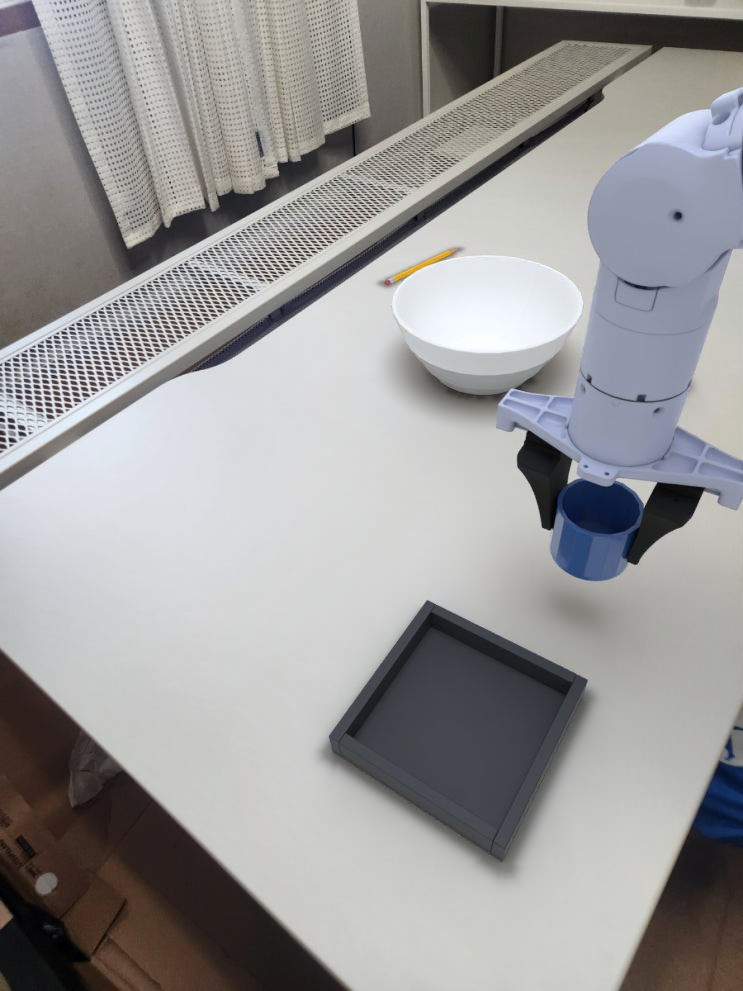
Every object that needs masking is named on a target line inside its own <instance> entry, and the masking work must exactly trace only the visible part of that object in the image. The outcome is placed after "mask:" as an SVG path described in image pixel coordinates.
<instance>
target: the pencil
mask: <svg viewBox="0 0 743 991" xmlns="http://www.w3.org/2000/svg"><path fill="white" fill-rule="evenodd" d="M457 251H458V248H454V249H448V250H446V251H443V252H442V253H440V254H437V255H435V256H433V257H431V258H429V259H426V260H425V261H423V262H420V263H418V264H417V265H415V266H412V267H411V268H410V267H409V269H406V270H404V271H403V272H400V273H398V274H395V275H394V276H391V277H389V278H388V279H385V280H384V281H383V283H384V285H386V286H390V285H391V284H394V283H395V282H398V281H400V280H401V279H404V278H407V277H409V276H410V275H411V274H413V273H414V272H416V271H418V270H420V269H422V268H424V267H426V266H428V265H431V264H434V263H437V262H440V261H442V260H443V259H444V258H446V257H448V256H451V255H452V254H454V253H456V252H457Z"/></svg>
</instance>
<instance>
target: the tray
mask: <svg viewBox="0 0 743 991" xmlns="http://www.w3.org/2000/svg"><path fill="white" fill-rule="evenodd" d="M588 681H589V680H588V679H587V678H586V677H584V676H582V675H579V674H577V673H576V672H574V671H572V670H570V669H568V668H566V667H563V666H561V665H560V664H558V663H555V662H553V661H552V660H550V659H548V658H545V657H544V656H542V655H540V654H538V653H536V652H534V651H531V650H529V649H528V648H525V647H523V646H521V645H519V644H518V643H515V642H513V641H511V640H509V639H507V638H505V637H503V636H501V635H499V634H498V633H495V632H493V631H491V630H490V629H488V628H485V627H483V626H481V625H479V624H478V623H475V622H473V621H471V620H469V619H467V618H465V617H464V616H461V615H459V614H457V613H455V612H453V611H450V610H449V609H447V608H445V607H443V606H441V605H438V604H436V603H434V602H433V601H432V600H431V601H430V600H428V599H427V600H425V602H424V604H422V606H421V608H420V609H419V610H418V612H417V613H416V614H415V616H414V617H413V618H412V620H411V621H410V623H409V624H408V625H407V626H406V628H405V630H404V631H403V632H402V634H401V635H400V636H399V638H398V639H397V641H396V642H395V644H394V645H393V647H391V649H390V650H389V651H388V654H386V656H385V657H384V659H383V660H382V661H381V663H380V664H379V666H378V667H377V668H376V670H375V671H374V672H373V674H372V675H371V677H370V678H369V680H368V681H367V682H366V684H365V685H364V686H363V688H362V690H360V692H359V693H358V695H357V696H356V698H355V699H354V700H353V701H352V703H351V704H350V706H349V707H348V709H347V710H346V711H345V713H344V714H343V715H342V717H341V718H340V720H339V721H338V723H337V724H336V725H335V726H334V728H333V729H332V730H331V732H330V733H329V735H328V739H329V743H330V748H331V751H332V753H334V754H335V755H337V756H338V757H340V758H342V759H343V760H344V761H346V762H348V763H349V764H351V765H352V766H354V767H355V768H357V769H358V770H359V771H362V773H364V774H366V775H367V776H369V777H371V778H372V779H373V780H375V781H377V782H378V783H380V784H381V785H383V786H385V787H386V788H387V789H388V790H391V791H392V792H393V793H395V794H397V795H398V796H400V797H401V798H403V799H404V800H406V801H407V802H409V803H410V804H411V805H414V806H415V807H416V808H418V809H419V810H421V811H422V812H424V813H426V814H427V815H429V816H430V817H432V818H433V819H435V820H436V821H438V822H439V823H441V824H443V825H444V826H446V827H447V828H449V829H450V830H452V831H453V832H455V833H456V834H458V835H460V836H461V837H462V838H464V839H466V840H467V841H469V842H470V843H471V844H473V845H474V846H476V847H478V848H479V849H481V850H482V851H484V852H486V853H487V854H488V855H490V856H491V857H493V858H494V859H496V860H498V861H499V862H501V863H503V862H504V860H505V858H506V855H507V853H508V851H509V850H510V847H511V845H512V843H513V841H514V839H515V837H516V835H517V833H518V831H519V828H520V827H521V824H522V822H523V821H524V819H525V816H526V814H527V812H528V810H529V808H530V806H531V804H532V802H533V800H534V798H535V795H536V794H537V792H538V789H539V787H540V786H541V783H542V781H543V779H544V777H545V775H546V773H547V771H548V769H549V767H550V765H551V762H552V761H553V759H554V757H555V754H556V752H557V751H558V748H559V746H560V744H561V742H562V740H563V738H564V736H565V734H566V732H567V730H568V728H569V726H570V724H571V722H572V720H573V718H574V716H575V713H576V711H577V709H578V707H579V705H580V703H581V701H582V700H583V697H584V694H585V691H586V688H587V684H588Z"/></svg>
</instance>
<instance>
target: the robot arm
mask: <svg viewBox="0 0 743 991" xmlns="http://www.w3.org/2000/svg"><path fill="white" fill-rule="evenodd" d="M587 207H588V208H587V217H586V218H587V219H586V221H587V222H586V224H587V231H588V236H589V239H590V244H591V246H592V247H593V250H594V252H595V254H596V255H597V257H598V259H599V264H598V267H597V268H598V269H597V273H596V278H595V283H594V286H593V291H592V295H591V296H592V297H591V303H590V309H589V312H588V313H589V314H588V319H587V324H586V330H585V335H584V341H583V346H582V350H581V357H580V361H579V368H578V373H577V379H576V383H575V388H574V395H573V396H567V395H555V394H544V393H534V392H529V391H523V390H521V389H520V390H519V389H517V388H515V389H513V388H511V389H510V390H509V391H507V392H506V394H505V395H504V396H503V398H502V399H500V402H499V403H498V404H497V410H496V422H495V428H496V430H500V431H504V432H506V433H512V432H514V430H515V429H519V430H522V431H525V432H526V433H525V439H524V441H523V445H522V446H521V448H520V449H518V453H517V454H516V467H517V469H518V470H519V471H520V473H521V474H522V475H523V476H524V478H525V480H526V481H527V482H528V484H529V486H530V488H531V491H532V494H533V495H534V498H535V502H536V504H537V508H538V509H537V510H538V513H539V519H540V526H541V528H542V529H544V530H547V531H548V532H549V531H550V532H551V529H552V525H553V520H554V514H555V508H556V502H557V497H558V495H559V493H560V492H561V490H562V489H563V487H564V486H565V485H567V484H569V477H570V476H569V475H570V472H571V467H572V463H573V461H574V462H576V463H577V464H578V465H577V469H576V470H577V471H576V475H577V477H579V479H580V478H582V479H584V480H587V481H590V482H593V483H596V484H598V485H601V486H611V485H612V484H613V483H614V482H615V481H617V480H618V479H625V480H635V481H644V482H652V483H656V484H655V485H654V487H653V489H652V491H651V493H650V495H649V497H648V499H647V501H646V503H645V504H644V510H643V516H642V520H641V524H640V528H639V532H638V535H637V538H636V540H635V542H634V544H633V546H632V548H631V550H630V552H629V554H628V557H627V561H626V562H629V564H631V565H634V566H637V565H639V563H640V561H641V559H642V558H643V557H644V554H646V552H648V550H649V549H650V548H651V547H652V546H654V545H655V543H656V542H658V541H659V540H661V539H662V538H663V537H665V536H666V535H668V534H670V533H672V532H674V531H676V530H678V529H680V528H681V529H682V528H683V527H684V526H685V525H686V524H687V523H688V522H689V521H690V520H691V519H692V518H693V516H694V515H695V512H696V511H697V508H698V505H699V503H700V501H701V499H702V496H703V495H704V492H705V493H707V494H710V495H713V496H716V497H718V498H717V502H716V503H717V504H719V506H721V507H725V508H727V509H730V510H733V511H738V510H739V507H740V506H741V504H742V501H743V459H741V458H739V457H737V456H734V455H732V454H729V453H728V452H726V451H724V450H722V449H720V448H719V447H717V446H714V445H713V444H711V443H710V442H707V440H704V439H702V438H701V437H699V436H697V435H695V434H693V433H692V432H690V431H688V430H687V429H685V428H683V427H681V426H680V425H678V424H679V421H680V418H681V416H682V412H683V409H684V406H685V403H686V399H687V397H688V394H689V391H690V388H691V385H692V382H693V379H694V375H695V372H696V370H697V367H698V364H699V361H700V358H701V356H702V355H701V354H702V353H703V349H704V346H705V343H706V341H707V337H708V334H709V331H710V328H711V325H712V322H713V319H714V317H715V313H716V310H717V307H718V304H719V298H720V297H719V294H720V290H721V286H722V283H723V281H724V277H725V275H726V271H727V268H728V265H729V262H730V259H731V256H732V254H733V250H743V86H741V87H739V88H736V89H733V90H731V91H728V92H725V93H723V94H721V95H720V96H718V97H717V98H716V99H715V100H713V101H712V103H711V105H710V108H708V109H707V108H706V109H699V110H698V109H697V110H693V111H690V112H687V113H684V114H682V115H679V116H678V117H677V118H675V119H673V120H672V121H670V122H668V123H667V124H666V125H664V126H663V127H661V128H659V130H657V131H656V132H655V133H653V134H651V135H650V136H649V137H647V138H646V139H644V140H643V141H642V142H640V143H639V144H637V145H636V146H634V147H633V148H632V149H630V150H629V151H628V152H626V153H625V154H623V155H622V156H621V157H619V158H618V159H617V160H616V161H615V162H614V163H613V164H612V165H611V166H610V168H608V169H607V170H606V171H605V172H604V174H603V175H602V176H601V177H600V179H599V180H598V182H597V184H596V185H595V186H594V189H593V191H592V194H591V196H590V199H589V202H588V206H587Z"/></svg>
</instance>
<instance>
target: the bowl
mask: <svg viewBox="0 0 743 991" xmlns="http://www.w3.org/2000/svg"><path fill="white" fill-rule="evenodd" d="M390 307H391V311H392V316H393V318H394V321H395V323H396V325H397V327H398V329H399V331H400V333H401V335H402V338H403V339H404V341H405V343H406V344H407V346H408V348H409V349H410V350H411V351H412V353H413V354H414V355H415V357H416V359H418V360H419V362H420V363H421V364H422V365H423V367H424V368H425V369H426V370H427V371H428V372H429V373H430V374H431V375H432V376H434V377H435V378H436V379H437V380H438V381H439V382H440V383H441V384H442V385H445V386H446V387H448V388H449V389H451V390H453V391H456V392H459V393H463V394H467V395H476V396H492V395H499V394H503V393H508V392H509V390H510V389H511V388H513V389H517V388H518V387H519V386H521V385H523V384H524V383H525V382H526V381H527V380H529V379H531V378H532V377H534V376H535V375H537V374H538V373H539V372H540V371H542V369H543V367H544V366H546V365H547V364H548V363H549V362H550V361H551V360H552V359H553V358H554V356H556V355H557V354H558V353H559V352H560V351H561V350H562V349H563V347H564V346H565V344H566V342H567V340H568V339H569V338H570V336H571V334H572V333H573V331H574V329H575V328H576V326H577V324H578V322H580V319H581V317H582V316H583V310H584V301H583V297H582V293H581V291H580V290H579V289H578V287H577V285H576V283H574V282H573V281H572V280H571V279H570V278H569V277H568V276H566V275H565V274H563V273H561V272H560V271H558V270H556V269H555V268H553V267H550V266H548V265H545V264H543V263H540V262H537V261H533V260H529V259H526V258H522V257H521V258H520V257H514V256H509V255H508V256H507V255H497V254H496V255H493V254H483V255H482V254H481V255H478V254H477V255H468V256H467V255H466V256H458V257H454V258H448V259H445V260H439V261H437V262H435V263H432V264H430V265H428V266H426V267H424V268H422V269H420V270H418V271H416V272H414V273H412V274H410V275H408V276H406V277H405V279H403V281H402V282H401V283H399V285H398V286H397V287H396V289H395V291H394V293H393V295H392V299H391V305H390Z"/></svg>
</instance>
